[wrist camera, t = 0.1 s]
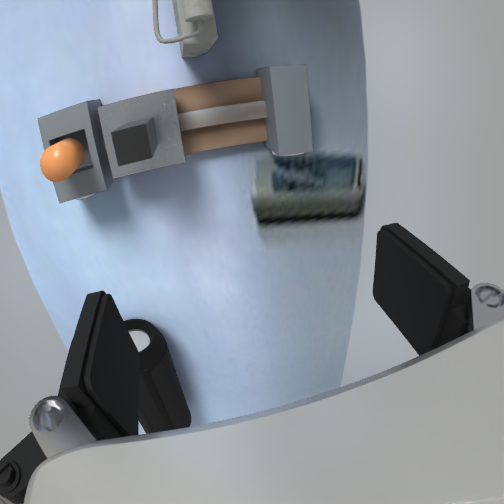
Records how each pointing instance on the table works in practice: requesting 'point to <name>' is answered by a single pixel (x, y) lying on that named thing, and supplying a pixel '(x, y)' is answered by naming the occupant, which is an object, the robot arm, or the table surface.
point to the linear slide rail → (96, 159)
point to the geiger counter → (191, 26)
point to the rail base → (221, 114)
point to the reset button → (62, 159)
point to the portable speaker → (157, 381)
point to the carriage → (142, 133)
